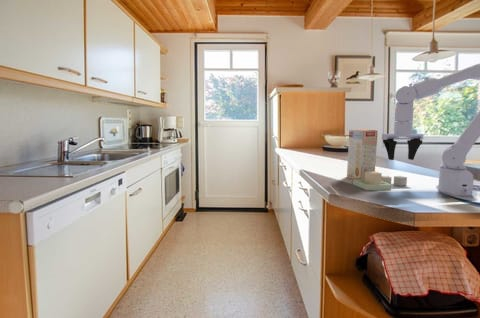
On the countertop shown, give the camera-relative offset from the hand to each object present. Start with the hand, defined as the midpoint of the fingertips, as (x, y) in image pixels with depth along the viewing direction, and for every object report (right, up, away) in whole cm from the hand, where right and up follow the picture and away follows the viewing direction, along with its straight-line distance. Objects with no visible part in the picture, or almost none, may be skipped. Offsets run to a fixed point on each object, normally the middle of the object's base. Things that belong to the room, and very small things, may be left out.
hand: (400, 159), depth 113 cm
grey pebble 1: (-4, -9, +3) cm, 11 cm away
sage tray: (-11, -11, 0) cm, 15 cm away
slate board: (-2, -10, +1) cm, 11 cm away
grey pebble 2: (+1, -9, +3) cm, 10 cm away
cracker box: (-10, -9, +12) cm, 18 cm away
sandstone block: (-11, -10, -1) cm, 15 cm away
